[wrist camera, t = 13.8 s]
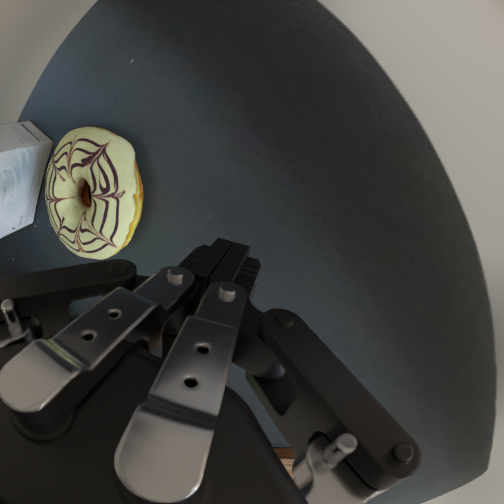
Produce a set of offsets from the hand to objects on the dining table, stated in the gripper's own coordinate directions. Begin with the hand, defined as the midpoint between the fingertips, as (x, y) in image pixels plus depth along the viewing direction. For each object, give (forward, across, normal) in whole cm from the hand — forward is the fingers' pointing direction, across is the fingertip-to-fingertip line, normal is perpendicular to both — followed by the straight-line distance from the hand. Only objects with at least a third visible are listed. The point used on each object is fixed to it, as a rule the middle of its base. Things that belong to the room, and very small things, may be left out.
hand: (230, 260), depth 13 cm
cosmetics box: (+7, +26, 0) cm, 27 cm away
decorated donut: (+7, +13, 0) cm, 15 cm away
